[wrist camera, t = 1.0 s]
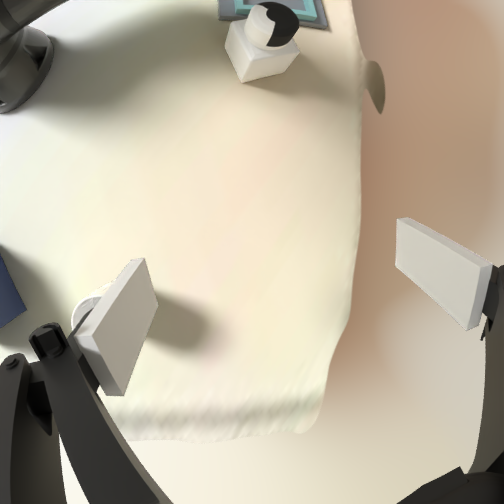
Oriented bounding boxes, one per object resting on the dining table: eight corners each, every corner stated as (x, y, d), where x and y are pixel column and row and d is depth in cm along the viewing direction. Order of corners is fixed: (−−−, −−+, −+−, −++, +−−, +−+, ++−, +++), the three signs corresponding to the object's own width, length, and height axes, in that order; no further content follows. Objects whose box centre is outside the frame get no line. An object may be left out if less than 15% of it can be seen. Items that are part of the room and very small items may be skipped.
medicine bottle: (266, 37, 37) (290, -7, 25) (284, 73, 38) (315, 34, 26) (223, 46, 36) (236, -1, 24) (240, 84, 37) (260, 42, 25)
